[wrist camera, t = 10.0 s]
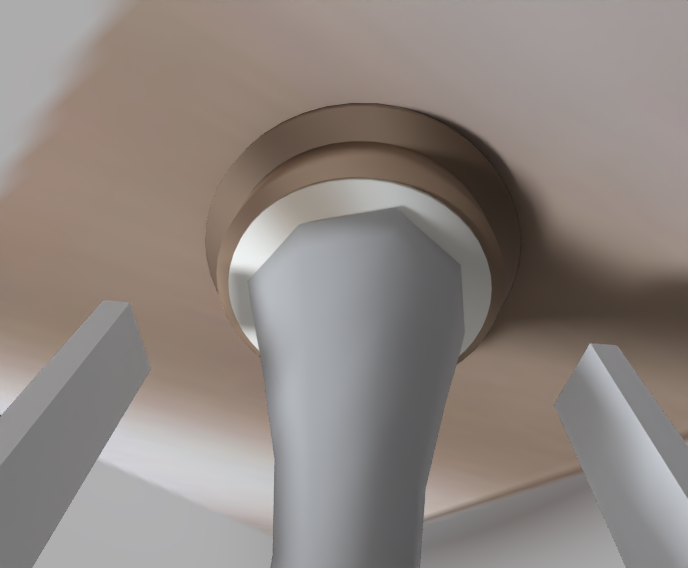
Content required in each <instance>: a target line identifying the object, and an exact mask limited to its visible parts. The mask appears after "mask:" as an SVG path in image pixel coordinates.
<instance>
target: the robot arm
mask: <svg viewBox="0 0 688 568" xmlns="http://www.w3.org/2000/svg"><path fill="white" fill-rule="evenodd" d="M150 370H151V367H150V364H149V360H148V357H147V354H146V351H145V348H144V345H143V342H142V339H141V335H140V332H139V329H138V326H137V323H136V320H135V317H134V313H133V310H132V307H131V304H130V303H128V302H117V301H106V300H103V301H102V303H101V304H100V305H99V306H98V307H97V308H96V309H95V310H94V312H93V313H92V314H91V315H90V316H89V317H88V318H87V319H86V321H85V322H84V323H83V324H82V325H81V326H80V327H79V328H78V330H77V331H76V332H75V333H74V334H73V335H72V336H71V337H70V339H69V340H68V341H67V342H66V343H65V344H64V345H63V346H62V348H61V349H60V350H59V351H58V352H57V353H56V354H55V355H54V357H53V358H52V359H51V360H50V361H49V362H48V363H47V364H46V366H45V367H44V368H43V369H42V370H41V371H40V372H39V373H38V375H37V376H36V377H35V378H34V379H33V380H32V381H31V382H30V384H29V385H28V386H27V387H26V388H25V389H24V390H23V391H22V393H21V394H20V395H19V396H18V397H17V398H16V399H15V400H14V402H13V403H12V404H11V405H10V406H9V407H8V408H7V410H6V411H5V412H4V413H3V414H2V415H0V568H32V567H33V565H34V564H35V562H36V560H37V559H38V557H39V555H40V554H41V552H42V550H43V549H44V547H45V545H46V543H47V542H48V540H49V539H50V537H51V535H52V534H53V532H54V530H55V529H56V527H57V525H58V523H59V522H60V520H61V519H62V517H63V515H64V513H65V512H66V510H67V509H68V507H69V505H70V503H71V502H72V500H73V498H74V497H75V495H76V493H77V492H78V490H79V488H80V486H81V485H82V483H83V482H84V480H85V478H86V476H87V475H88V473H89V472H90V470H91V468H92V467H93V465H94V463H95V462H96V460H97V458H98V457H99V455H100V453H101V452H102V450H103V448H104V447H105V445H106V443H107V442H108V440H109V438H110V437H111V435H112V433H113V432H114V430H115V428H116V427H117V425H118V423H119V421H120V420H121V418H122V416H123V415H124V413H125V411H126V410H127V408H128V406H129V405H130V403H131V401H132V400H133V398H134V396H135V395H136V393H137V391H138V390H139V388H140V386H141V385H142V383H143V381H144V380H145V378H146V376H147V375H148V373H149V371H150ZM554 406H555V408H556V411H557V413H558V415H559V417H560V420H561V422H562V424H563V426H564V429H565V431H566V433H567V435H568V438H569V440H570V442H571V444H572V447H573V449H574V451H575V453H576V456H577V458H578V460H579V463H580V465H581V467H582V469H583V472H584V474H585V476H586V478H587V481H588V483H589V485H590V487H591V490H592V492H593V494H594V496H595V499H596V501H597V503H598V505H599V508H600V510H601V512H602V514H603V517H604V519H605V521H606V523H607V526H608V528H609V530H610V533H611V534H612V537H613V539H614V541H615V544H616V546H617V548H618V550H619V553H620V555H621V557H622V560H623V562H624V564H625V566H626V568H688V446H687V444H686V443H685V441H684V440H683V439H682V437H681V436H680V434H679V433H678V431H677V430H676V429H675V427H674V426H673V424H672V423H671V421H670V420H669V419H668V417H667V416H666V414H665V413H664V411H663V410H662V409H661V407H660V406H659V404H658V403H657V401H656V400H655V399H654V397H653V396H652V394H651V393H650V391H649V390H648V389H647V387H646V386H645V384H644V383H643V381H642V380H641V379H640V377H639V376H638V374H637V373H636V371H635V370H634V369H633V367H632V366H631V364H630V363H629V361H628V360H627V359H626V357H625V356H624V354H623V353H622V351H621V350H620V349H619V347H618V346H617V345H606V344H595V343H590V344H589V346H588V348H587V349H586V351H585V353H584V354H583V356H582V358H581V359H580V361H579V363H578V365H577V366H576V368H575V370H574V371H573V373H572V375H571V376H570V378H569V380H568V382H567V383H566V385H565V387H564V388H563V390H562V392H561V393H560V395H559V397H558V399H557V400H556V402H555V404H554Z"/></svg>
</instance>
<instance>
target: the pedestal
mask: <svg viewBox="0 0 688 568" xmlns="http://www.w3.org/2000/svg"><path fill="white" fill-rule="evenodd" d="M389 208H396V209H397V210H398V211H399V212H401V213H402V214H403V215H404V216H405V217H406V218H407V219H409V220H410V221H411V222H412V223H413V224H414V225H415V226H417V227H418V228H419V229H420V230H421V231H422V232H424V233H425V234H426V235H427V236H428V237H429V238H430V239H432V240H433V241H434V242H435V243H436V244H437V245H438V246H440V247H441V248H442V249H443V250H444V251H445V252H446V253H448V254H449V255H450V256H451V257H452V258H453V259H454V260H456V261H457V262H458V263H459V264H460V265H461V278H462V294H463V310H464V326H465V334H464V339H463V343H462V347H461V351H460V354H459V358H458V361H457V364H458V363H460V362H461V361H462V360H464V359H465V358H466V357H467V356H468V355H469V354H470V353H471V352H473V351H474V350H475V349H476V347H477V346H478V345H479V344H480V343H481V342H482V341H483V339H484V338H485V337H486V335H487V334H488V332H489V331H490V329H491V328H492V326H493V324H494V322H495V320H496V318H497V315H498V313H499V310H500V308H501V307H502V305H503V304H504V302H505V301H506V298H507V296H508V294H509V292H510V290H511V288H512V286H513V283H514V280H515V276H516V273H517V270H518V264H519V257H520V228H519V223H518V218H517V212H516V210H515V207H514V204H513V201H512V199H511V196H510V193H509V192H508V190H507V188H506V186H505V185H504V183H503V181H502V179H501V177H500V176H499V174H498V173H497V171H496V170H495V169H494V167H493V166H492V165H491V164H490V162H489V161H488V160H487V159H486V157H485V156H484V155H483V154H482V152H480V151H479V150H478V149H477V148H476V147H475V146H474V145H473V144H472V143H471V142H470V141H468V140H467V139H466V138H465V137H464V136H462V135H461V134H459V133H458V132H456V131H455V130H453V129H452V128H450V127H449V126H447V125H446V124H443V123H441V122H439V121H437V120H435V119H433V118H431V117H429V116H426V115H424V114H421V113H418V112H414V111H411V110H408V109H405V108H401V107H395V106H389V105H382V104H372V103H349V104H342V105H334V106H327V107H323V108H319V109H316V110H312V111H309V112H305V113H302V114H300V115H298V116H295V117H293V118H291V119H289V120H286V121H284V122H282V123H280V124H279V125H277V126H276V127H274V128H272V129H271V130H269V131H268V132H266V133H264V134H263V135H262V136H261V137H259V138H258V139H257V140H256V141H255V142H254V143H252V144H251V145H250V146H249V147H248V148H247V149H246V150H245V151H244V152H243V153H242V155H241V156H240V157H239V158H238V159H237V160H236V162H235V163H234V164H233V165H232V166H231V168H230V169H229V170H228V172H227V173H226V175H225V176H224V178H223V180H222V181H221V183H220V185H219V186H218V188H217V191H216V193H215V196H214V198H213V201H212V203H211V206H210V210H209V214H208V219H207V223H206V237H205V245H206V256H207V262H208V266H209V270H210V274H211V277H212V280H213V282H214V285H215V287H216V290H217V292H218V294H219V296H220V301H221V304H222V306H223V309H224V312H225V314H226V316H227V318H228V320H229V322H230V323H231V325H232V327H233V329H234V330H235V331H236V333H237V334H238V335H239V337H240V338H241V339H242V341H243V342H244V343H245V344H246V345H247V346H248V347H249V348H250V349H251V350H252V351H253V352H254V353H255V354H256V355H258V356H259V357H260V352H259V347H258V341H257V336H256V330H255V325H254V320H253V314H252V309H251V303H250V297H249V289H248V282H247V281H248V280H249V279H250V278H251V277H252V276H253V275H254V274H255V273H256V271H257V270H258V269H259V268H260V267H261V266H262V265H263V264H264V263H265V261H266V260H267V259H268V258H269V257H270V256H271V255H272V254H273V253H274V251H275V250H276V249H277V248H278V247H279V246H280V245H281V244H282V243H283V241H284V240H285V239H286V238H287V237H288V236H289V235H290V234H291V233H292V231H293V230H294V229H295V228H296V227H297V226H298V225H299V224H303V223H309V222H315V221H320V220H326V219H332V218H338V217H343V216H349V215H355V214H360V213H366V212H372V211H378V210H383V209H389ZM260 358H261V357H260Z"/></svg>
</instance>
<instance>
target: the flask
mask: <svg viewBox="0 0 688 568" xmlns="http://www.w3.org/2000/svg"><path fill="white" fill-rule="evenodd" d="M247 282H248V289H249V297H250V303H251V309H252V314H253V320H254V325H255V330H256V336H257V341H258V347H259V352H260V357H261V363H262V370H263V378H264V385H265V392H266V400H267V407H268V414H269V422H270V429H271V436H272V444H273V451H274V458H275V466H274V515H273V556H272V562H271V568H420V559H421V545H422V531H423V517H424V503H425V489H426V484H427V480H428V476H429V471H430V467H431V463H432V458H433V454H434V450H435V446H436V441H437V437H438V433H439V429H440V424H441V420H442V416H443V411H444V407H445V403H446V399H447V396H448V392H449V389H450V386H451V382H452V379H453V375H454V372H455V368H456V365H457V361H458V358H459V354H460V351H461V347H462V343H463V339H464V334H465V326H464V310H463V294H462V278H461V265H460V264H459V263H458V262H457V261H456V260H454V259H453V258H452V257H451V256H450V255H449V254H448V253H446V252H445V251H444V250H443V249H442V248H441V247H440V246H438V245H437V244H436V243H435V242H434V241H433V240H432V239H430V238H429V237H428V236H427V235H426V234H425V233H424V232H422V231H421V230H420V229H419V228H418V227H417V226H415V225H414V224H413V223H412V222H411V221H410V220H409V219H407V218H406V217H405V216H404V215H403V214H402V213H401V212H399V211H398V210H397V209H396V208H389V209H383V210H378V211H372V212H366V213H360V214H355V215H349V216H343V217H338V218H332V219H326V220H320V221H315V222H309V223H303V224H299V225H298V226H297V227H296V228H295V229H294V230H293V231H292V233H291V234H290V235H289V236H288V237H287V238H286V239H285V240H284V241H283V243H282V244H281V245H280V246H279V247H278V248H277V249H276V250H275V251H274V253H273V254H272V255H271V256H270V257H269V258H268V259H267V260H266V261H265V263H264V264H263V265H262V266H261V267H260V268H259V269H258V270H257V271H256V273H255V274H254V275H253V276H252V277H251V278H250V279H249V280H248V281H247Z"/></svg>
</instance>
